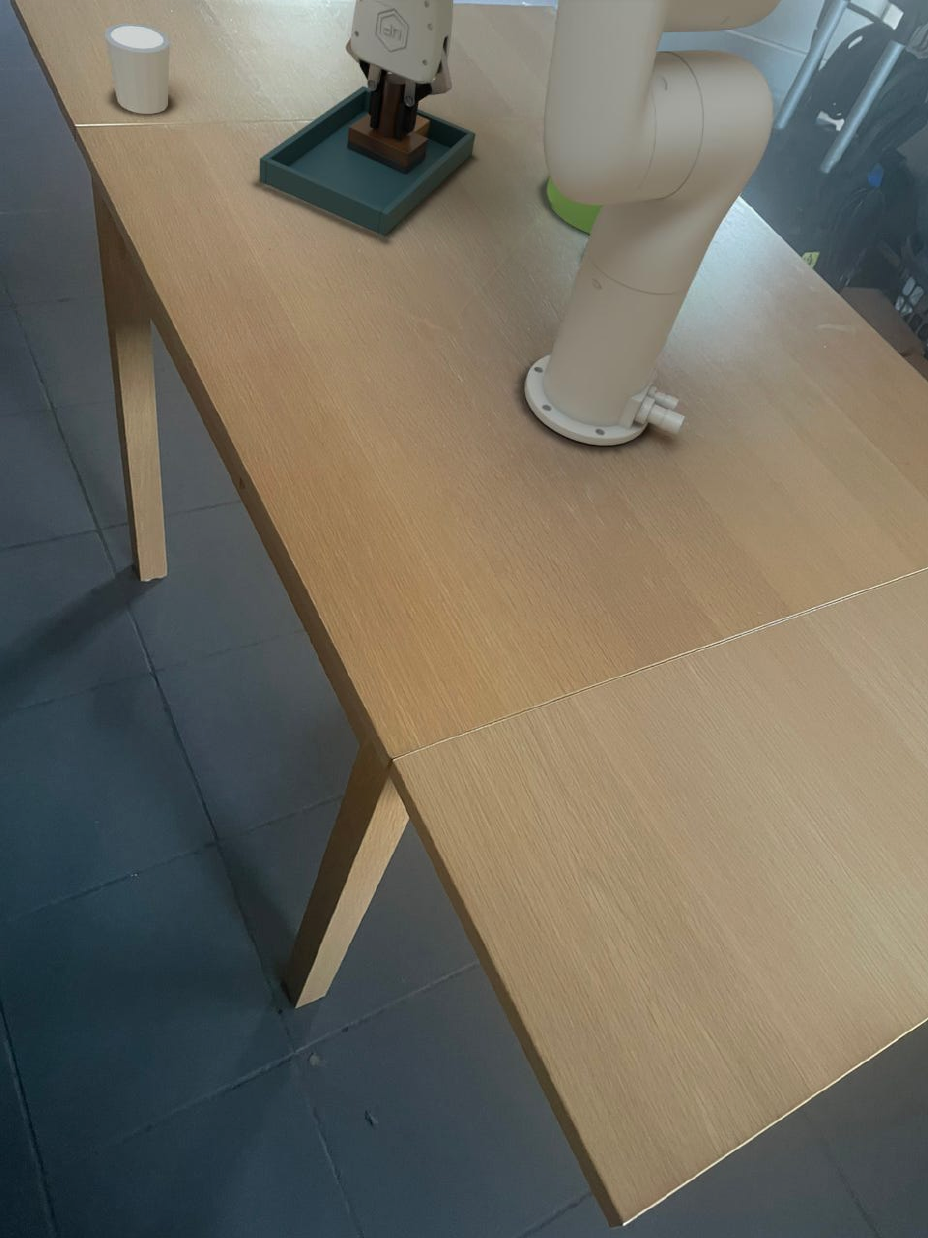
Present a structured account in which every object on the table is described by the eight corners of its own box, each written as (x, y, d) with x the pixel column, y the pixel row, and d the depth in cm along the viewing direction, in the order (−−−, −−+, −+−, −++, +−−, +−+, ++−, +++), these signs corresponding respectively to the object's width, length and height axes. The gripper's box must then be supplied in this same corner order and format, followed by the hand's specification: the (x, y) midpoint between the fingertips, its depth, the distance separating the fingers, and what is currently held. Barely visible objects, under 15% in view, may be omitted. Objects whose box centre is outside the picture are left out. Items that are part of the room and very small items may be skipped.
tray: (471, 157, 114) (476, 133, 112) (384, 239, 100) (387, 214, 97) (360, 110, 116) (362, 85, 113) (259, 184, 101) (259, 157, 99)
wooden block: (426, 140, 113) (430, 119, 111) (411, 152, 111) (414, 131, 109) (398, 127, 114) (401, 107, 112) (383, 139, 112) (385, 118, 110)
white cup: (105, 86, 107) (97, 21, 102) (165, 86, 110) (161, 22, 105) (119, 117, 104) (112, 50, 99) (180, 115, 107) (177, 51, 101)
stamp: (425, 159, 111) (437, 85, 104) (405, 174, 108) (416, 99, 101) (367, 133, 112) (375, 58, 105) (346, 147, 109) (353, 71, 102)
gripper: (325, -73, 92) (314, 114, 106) (470, -14, 90) (438, 168, 105) (361, -90, 96) (345, 92, 111) (499, -34, 95) (465, 144, 109)
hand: (390, 127), depth 108 cm, fingers closed on stamp, 2 cm apart
